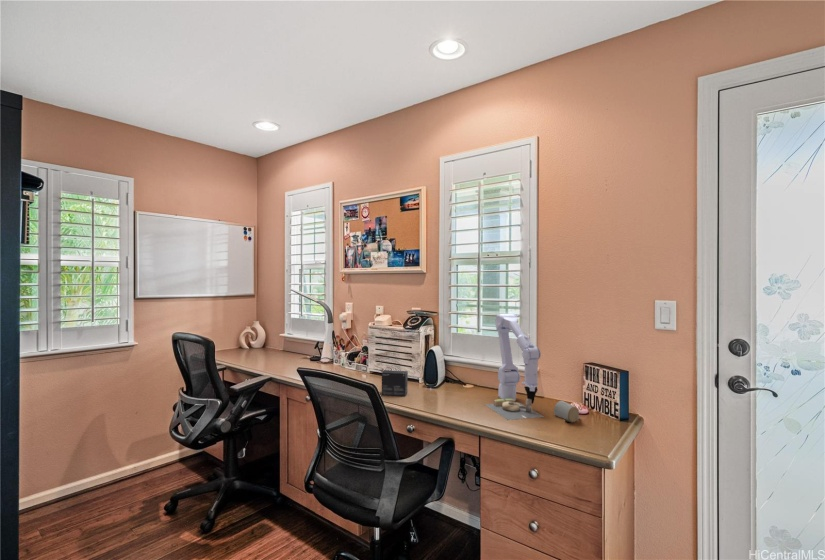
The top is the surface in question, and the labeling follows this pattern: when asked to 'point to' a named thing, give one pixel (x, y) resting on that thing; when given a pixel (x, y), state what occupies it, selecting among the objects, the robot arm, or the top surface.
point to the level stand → (512, 414)
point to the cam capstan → (517, 406)
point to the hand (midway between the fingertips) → (530, 403)
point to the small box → (394, 383)
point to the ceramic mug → (566, 411)
